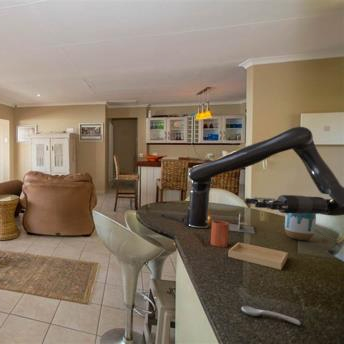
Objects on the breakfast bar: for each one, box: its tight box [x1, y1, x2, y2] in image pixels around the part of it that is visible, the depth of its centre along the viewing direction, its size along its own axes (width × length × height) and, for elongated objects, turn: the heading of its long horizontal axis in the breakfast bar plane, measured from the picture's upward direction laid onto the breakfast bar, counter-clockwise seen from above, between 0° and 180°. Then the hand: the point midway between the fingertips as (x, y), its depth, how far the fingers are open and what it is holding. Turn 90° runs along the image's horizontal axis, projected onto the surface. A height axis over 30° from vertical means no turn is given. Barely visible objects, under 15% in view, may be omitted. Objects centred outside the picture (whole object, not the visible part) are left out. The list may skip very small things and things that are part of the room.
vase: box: [284, 213, 317, 241], centre depth 134 cm, size 11×11×19 cm
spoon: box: [241, 305, 302, 326], centre depth 73 cm, size 3×12×2 cm, turn 65°
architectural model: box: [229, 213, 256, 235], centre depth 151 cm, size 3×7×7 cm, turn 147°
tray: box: [227, 242, 289, 271], centre depth 112 cm, size 16×14×3 cm
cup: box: [210, 220, 230, 248], centre depth 127 cm, size 6×6×10 cm
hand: (250, 202), depth 123 cm, fingers open, 8 cm apart
